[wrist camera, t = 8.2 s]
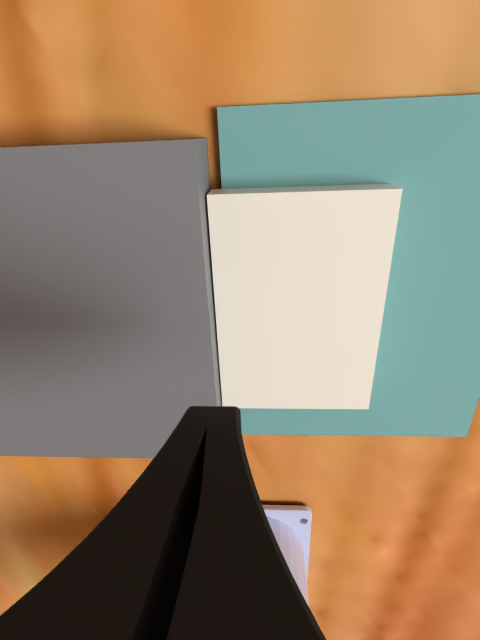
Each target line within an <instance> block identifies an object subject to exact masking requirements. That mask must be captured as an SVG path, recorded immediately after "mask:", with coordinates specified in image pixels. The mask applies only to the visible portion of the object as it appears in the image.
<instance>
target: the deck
mask: <svg viewBox="0 0 480 640" xmlns="http://www.w3.org/2000/svg"><path fill="white" fill-rule="evenodd" d="M209 192H210V177H209V163H208V149H207V138H194V139H172V140H149V141H126V142H103V143H80V144H58V145H35V146H12V147H0V456H47V457H113V458H154V457H155V456H156V455H157V453H158V452H159V451H160V449H161V448H162V446H163V445H164V444H165V442H166V441H167V439H168V438H169V436H170V435H171V434H172V432H173V431H174V429H175V428H176V426H177V425H178V423H179V421H180V420H181V418H182V417H183V415H184V413H185V412H186V410H187V409H188V408H189V407H190V406H222V393H221V379H220V366H219V352H218V339H217V325H216V312H215V299H214V285H213V272H212V258H211V245H210V232H209V218H208V205H207V194H208V193H209Z"/></svg>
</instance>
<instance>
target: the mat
mask: <svg viewBox="0 0 480 640" xmlns="http://www.w3.org/2000/svg"><path fill="white" fill-rule="evenodd" d="M217 117H218V134H219V151H220V168H221V185H222V189H231V188H262V187H294V186H325V185H357V184H388V183H390V184H392V185H395V186H397V187H400V188H402V189H403V190H402V196H401V203H400V209H399V216H398V222H397V229H396V235H395V242H394V248H393V255H392V261H391V268H390V274H389V281H388V287H387V293H386V300H385V306H384V313H383V319H382V326H381V332H380V339H379V345H378V352H377V358H376V365H375V371H374V378H373V384H372V391H371V397H370V404H369V409H264V408H239V409H240V410H241V430H242V434H258V435H352V436H446V437H467V434H468V431H469V428H470V425H471V422H472V419H473V415H474V412H475V409H476V406H477V403H478V400H479V397H480V94H473V95H453V96H433V97H413V98H392V99H372V100H352V101H332V102H311V103H291V104H271V105H251V106H231V107H217Z"/></svg>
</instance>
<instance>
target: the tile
mask: <svg viewBox="0 0 480 640" xmlns="http://www.w3.org/2000/svg"><path fill="white" fill-rule="evenodd" d="M402 190H403V189H402V188H400V187H397V186H395V185H392V184H390V183H388V184H357V185H325V186H294V187H262V188H231V189H211V191H210V192H209V193H208V194H207V205H208V218H209V232H210V245H211V258H212V272H213V285H214V299H215V312H216V325H217V339H218V352H219V366H220V379H221V393H222V406H236V407H238V408H264V409H369V404H370V397H371V391H372V384H373V378H374V371H375V365H376V358H377V352H378V345H379V339H380V332H381V326H382V319H383V313H384V306H385V300H386V293H387V287H388V281H389V274H390V268H391V261H392V255H393V248H394V242H395V235H396V229H397V222H398V216H399V209H400V203H401V196H402Z"/></svg>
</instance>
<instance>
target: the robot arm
mask: <svg viewBox="0 0 480 640" xmlns="http://www.w3.org/2000/svg"><path fill="white" fill-rule="evenodd" d="M311 521H312V513H311V509H310V508H309V507H307V506H298V505H262V504H261V501H260V498H259V495H258V492H257V490H256V487H255V484H254V480H253V477H252V474H251V471H250V467H249V464H248V460H247V457H246V453H245V448H244V444H243V439H242V430H241V410H240V409H239V408H238V407H236V406H190V407H189V408H188V409H187V410H186V412H185V413H184V415H183V417H182V418H181V420H180V421H179V423H178V425H177V426H176V428H175V429H174V431H173V432H172V434H171V435H170V436H169V438H168V439H167V441H166V442H165V444H164V445H163V446H162V448H161V449H160V451H159V452H158V453H157V455H156V456H155V457H154V459H153V460H152V461H151V463H150V464H149V465H148V467H147V468H146V469H145V471H144V472H143V473H142V474H141V476H140V477H139V478H138V479H137V480H136V482H135V483H134V484H133V485H132V487H131V488H130V489H129V490H128V491H127V493H126V494H125V495H124V496H123V497H122V499H121V500H120V501H119V502H118V503H117V504H116V506H115V507H114V508H113V509H112V510H111V511H110V512H109V513H108V514H107V516H106V517H105V518H104V519H103V520H102V521H101V522H100V523H99V524H98V525H97V526H96V527H95V528H94V529H93V530H92V532H91V533H90V534H89V535H88V536H87V537H86V538H85V539H84V540H83V541H82V542H81V543H80V544H79V545H78V546H77V547H76V548H75V549H74V550H73V551H72V552H71V553H70V554H68V555H67V556H66V557H65V558H64V559H63V560H62V561H61V562H60V563H59V564H58V565H57V566H56V567H55V568H54V569H53V570H52V571H51V572H50V573H49V574H48V575H47V576H45V577H44V578H43V579H42V580H41V581H40V582H39V583H38V584H37V585H36V586H34V587H33V588H32V589H31V590H30V591H29V592H28V593H26V594H25V595H24V596H23V597H22V598H21V599H19V600H18V601H17V602H16V603H15V604H14V605H12V606H11V607H10V608H9V609H8V610H7V611H5V612H4V613H3V614H2V615H1V616H0V640H326V638H325V637H324V635H323V633H322V631H321V629H320V628H319V626H318V624H317V622H316V620H315V618H314V616H313V614H312V612H311V610H310V608H309V601H308V591H307V575H308V561H309V548H310V534H311Z"/></svg>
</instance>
